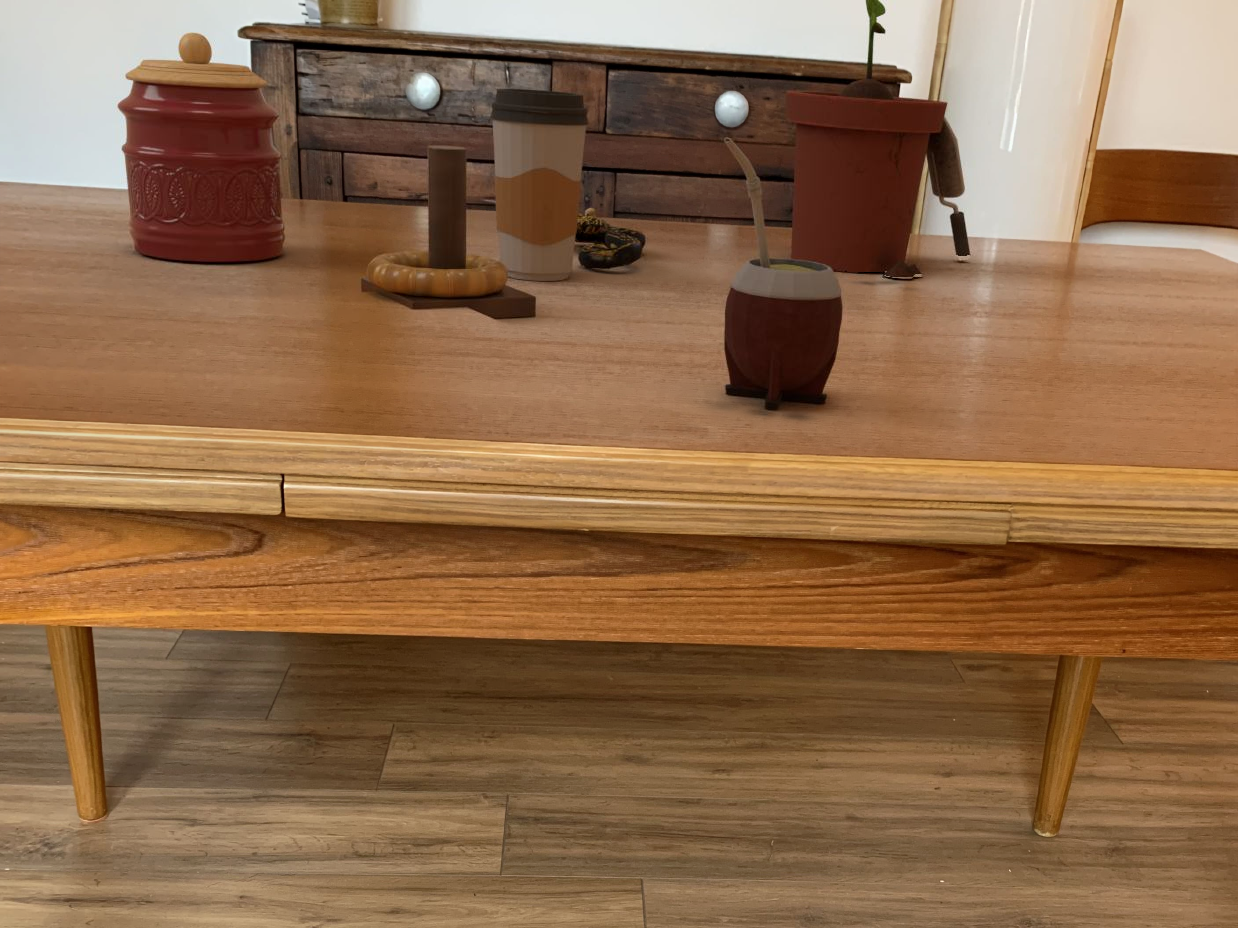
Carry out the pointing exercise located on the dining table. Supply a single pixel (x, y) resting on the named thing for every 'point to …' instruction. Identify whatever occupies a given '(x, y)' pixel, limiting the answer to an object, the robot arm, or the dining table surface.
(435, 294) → the ring
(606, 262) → the rubber snake
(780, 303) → the mate gourd
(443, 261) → the wooden peg stand
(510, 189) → the coffee cup
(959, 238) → the potted plant
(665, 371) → the dining table surface
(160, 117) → the kitchen canister
